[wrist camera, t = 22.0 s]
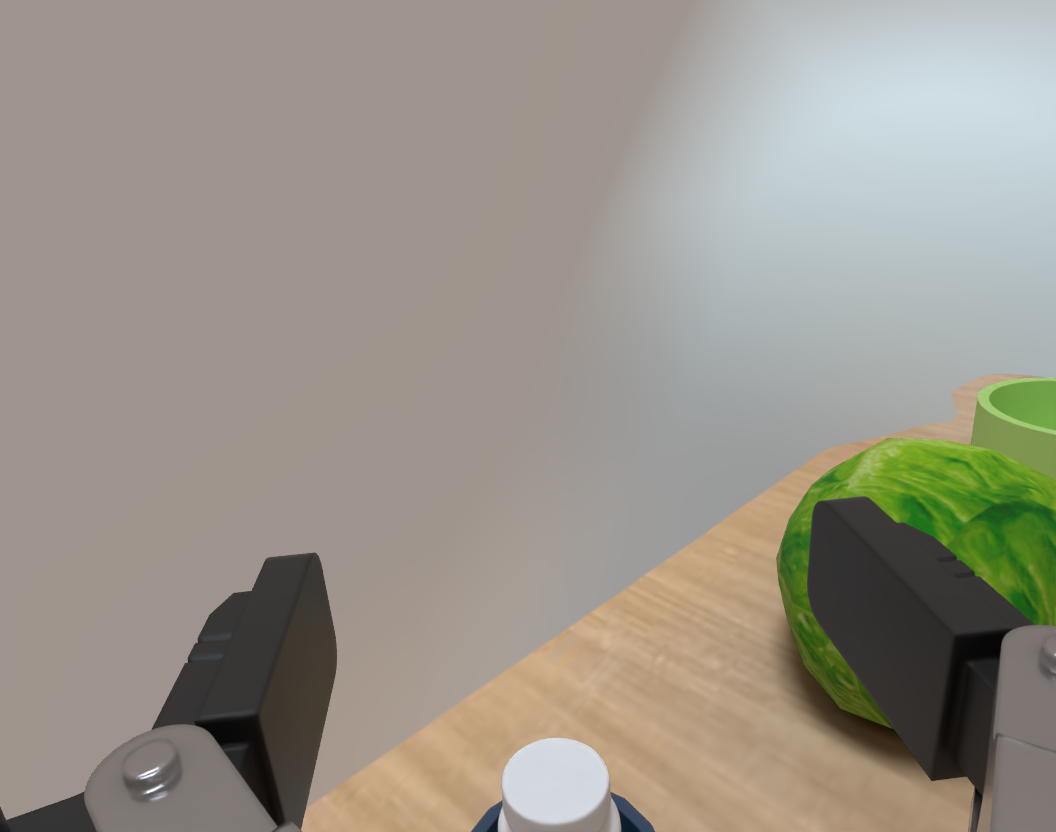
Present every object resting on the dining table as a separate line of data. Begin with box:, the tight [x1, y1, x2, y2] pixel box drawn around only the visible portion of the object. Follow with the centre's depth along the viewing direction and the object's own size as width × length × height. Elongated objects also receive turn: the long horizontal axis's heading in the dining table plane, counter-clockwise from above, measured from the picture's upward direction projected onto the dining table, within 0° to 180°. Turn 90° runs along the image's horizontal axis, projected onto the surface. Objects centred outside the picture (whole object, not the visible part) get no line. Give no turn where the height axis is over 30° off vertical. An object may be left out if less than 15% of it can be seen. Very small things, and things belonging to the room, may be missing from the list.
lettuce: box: [776, 438, 1056, 730], centre depth 44 cm, size 15×22×15 cm
